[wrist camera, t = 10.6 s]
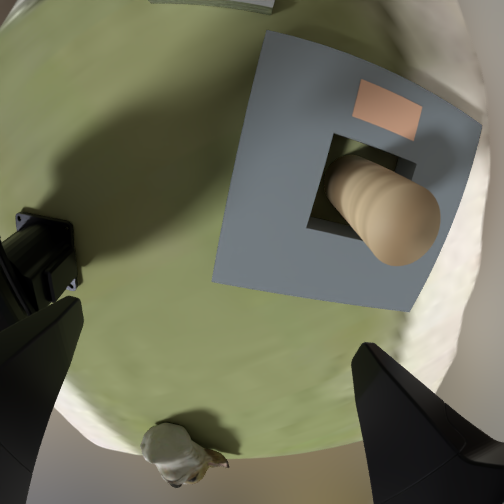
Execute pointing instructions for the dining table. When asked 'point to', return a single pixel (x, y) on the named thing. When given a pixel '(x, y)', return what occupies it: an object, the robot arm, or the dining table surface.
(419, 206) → the peg
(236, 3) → the plate
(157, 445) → the ceramic sculpture
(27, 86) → the dining table surface
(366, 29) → the dining table surface
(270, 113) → the hole plate
